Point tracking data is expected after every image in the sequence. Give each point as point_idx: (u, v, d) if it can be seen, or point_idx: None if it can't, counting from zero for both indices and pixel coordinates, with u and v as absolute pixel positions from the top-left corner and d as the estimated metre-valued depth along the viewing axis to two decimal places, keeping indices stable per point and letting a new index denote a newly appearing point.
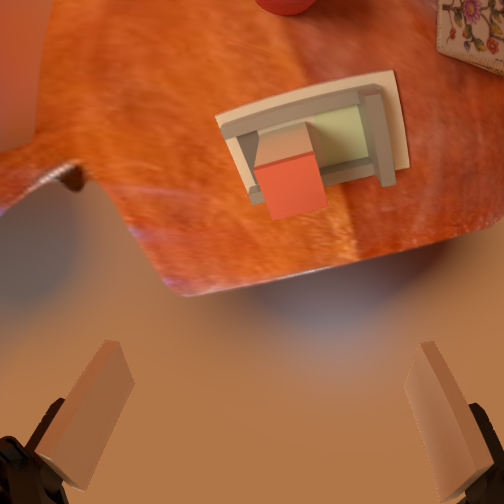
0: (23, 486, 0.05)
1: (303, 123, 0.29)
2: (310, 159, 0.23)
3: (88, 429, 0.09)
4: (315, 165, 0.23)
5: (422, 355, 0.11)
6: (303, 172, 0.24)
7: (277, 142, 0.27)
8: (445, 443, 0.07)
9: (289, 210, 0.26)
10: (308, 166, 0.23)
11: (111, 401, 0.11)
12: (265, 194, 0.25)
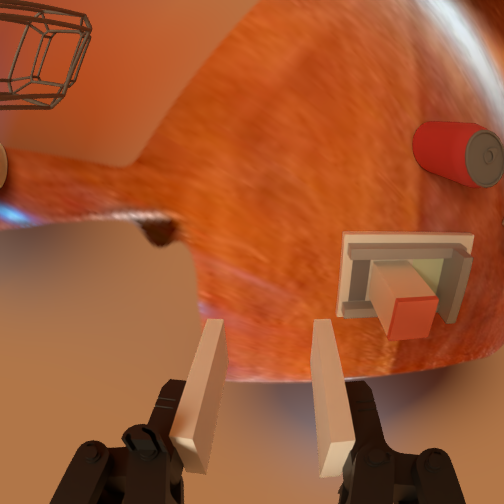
0: (146, 481, 0.06)
1: (408, 263, 0.36)
2: (435, 302, 0.27)
3: (210, 406, 0.10)
4: (435, 307, 0.28)
5: (315, 330, 0.13)
6: (426, 310, 0.28)
7: (398, 277, 0.32)
8: (321, 415, 0.10)
9: (403, 335, 0.29)
10: (431, 307, 0.28)
11: (219, 377, 0.12)
12: (395, 321, 0.29)
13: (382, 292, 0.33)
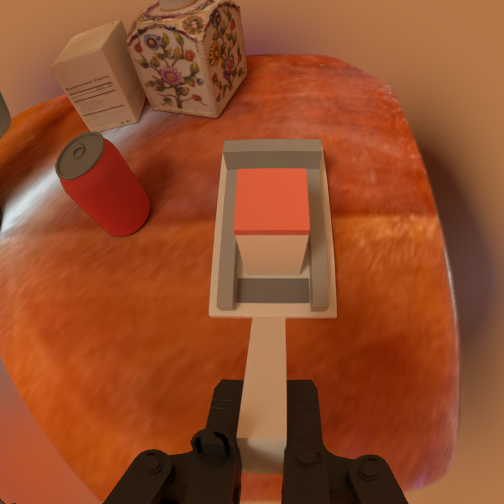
0: (211, 487, 0.06)
1: None
2: (241, 173, 0.22)
3: None
4: (250, 170, 0.22)
5: (268, 328, 0.13)
6: (254, 182, 0.21)
7: None
8: None
9: (300, 207, 0.20)
10: (249, 176, 0.22)
11: None
12: (269, 226, 0.20)
13: (260, 255, 0.24)
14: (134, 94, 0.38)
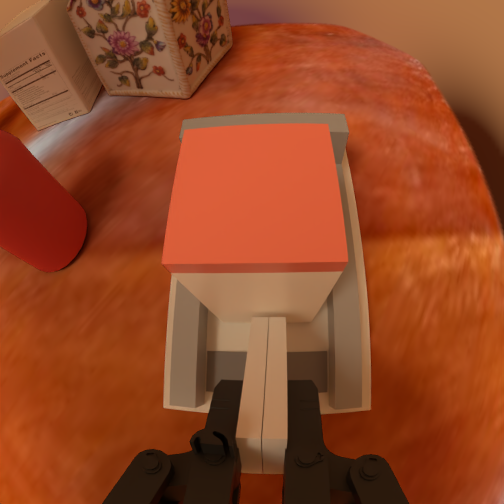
0: (210, 486, 0.06)
1: None
2: (192, 136, 0.10)
3: None
4: (209, 129, 0.10)
5: (268, 328, 0.13)
6: (217, 152, 0.09)
7: None
8: None
9: (321, 205, 0.08)
10: (207, 141, 0.10)
11: None
12: (246, 255, 0.08)
13: (238, 303, 0.12)
14: (85, 77, 0.26)
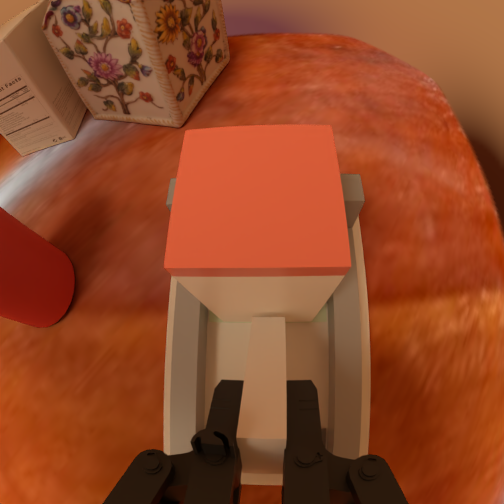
0: (211, 487, 0.06)
1: None
2: (193, 137, 0.10)
3: None
4: (211, 130, 0.10)
5: (268, 328, 0.13)
6: (218, 154, 0.09)
7: None
8: None
9: (325, 209, 0.08)
10: (209, 143, 0.10)
11: None
12: (249, 259, 0.08)
13: (240, 304, 0.12)
14: (67, 99, 0.24)
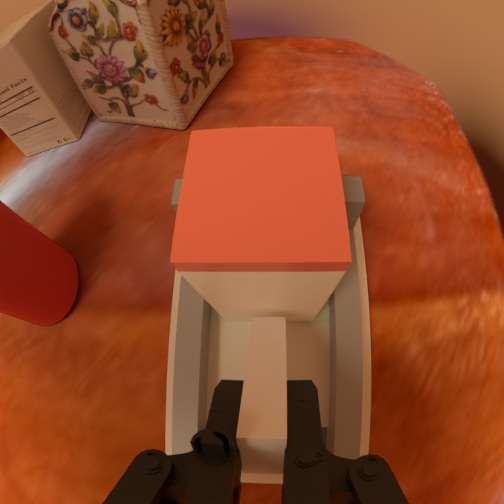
0: (210, 487, 0.06)
1: None
2: (199, 137, 0.10)
3: None
4: (216, 131, 0.10)
5: (268, 328, 0.13)
6: (224, 153, 0.10)
7: None
8: None
9: (326, 207, 0.09)
10: (214, 143, 0.10)
11: None
12: (253, 254, 0.08)
13: (243, 301, 0.13)
14: (72, 101, 0.25)
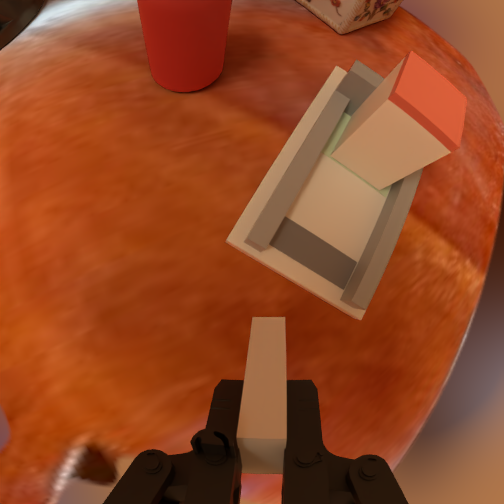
0: (211, 487, 0.06)
1: (354, 112, 0.23)
2: (414, 56, 0.14)
3: None
4: (422, 60, 0.14)
5: (268, 328, 0.13)
6: (424, 71, 0.14)
7: (363, 113, 0.19)
8: None
9: (456, 123, 0.14)
10: (420, 64, 0.14)
11: None
12: (428, 115, 0.14)
13: (377, 141, 0.18)
14: None
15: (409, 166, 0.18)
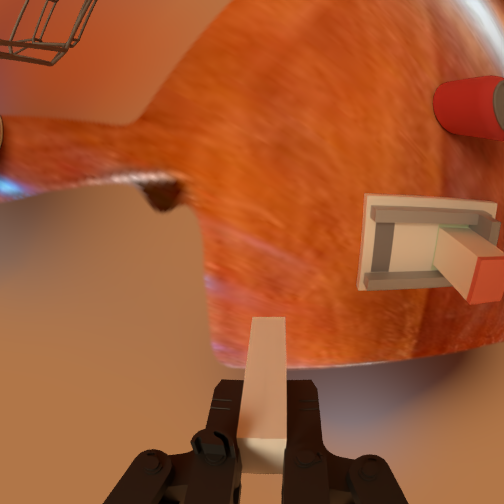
0: (211, 487, 0.06)
1: (470, 229, 0.31)
2: None
3: None
4: None
5: (268, 328, 0.13)
6: (503, 270, 0.23)
7: (469, 240, 0.28)
8: None
9: (482, 298, 0.25)
10: None
11: None
12: (477, 281, 0.24)
13: (457, 255, 0.28)
14: None
15: (451, 278, 0.29)
